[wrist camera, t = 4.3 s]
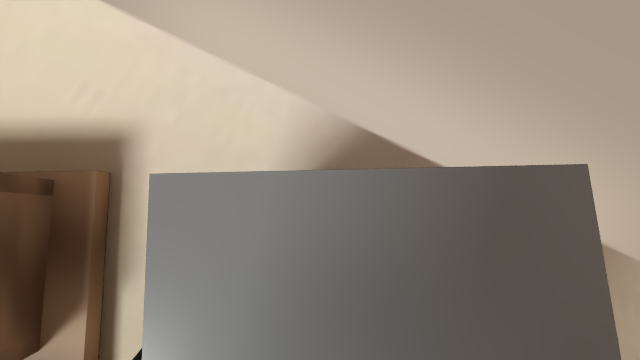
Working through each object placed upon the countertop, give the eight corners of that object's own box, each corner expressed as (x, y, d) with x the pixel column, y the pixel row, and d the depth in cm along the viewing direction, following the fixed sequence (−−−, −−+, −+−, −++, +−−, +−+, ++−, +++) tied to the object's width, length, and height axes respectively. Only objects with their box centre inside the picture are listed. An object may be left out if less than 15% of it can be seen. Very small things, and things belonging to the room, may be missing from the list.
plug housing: (349, 281, 15) (674, 666, 2) (271, 287, 15) (123, 822, 2) (345, 204, 16) (587, 164, 3) (269, 207, 15) (149, 173, 2)
